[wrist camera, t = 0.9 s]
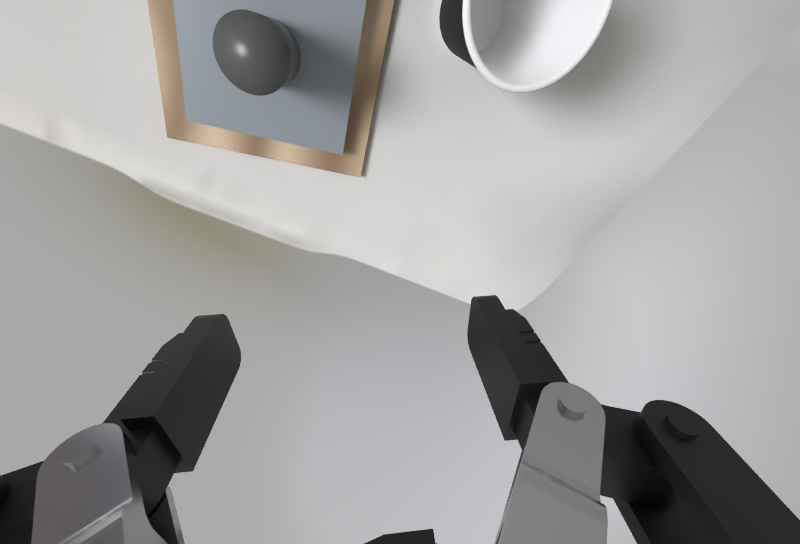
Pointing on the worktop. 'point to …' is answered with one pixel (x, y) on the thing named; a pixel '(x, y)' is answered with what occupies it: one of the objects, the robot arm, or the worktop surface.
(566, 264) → the worktop surface
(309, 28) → the lid
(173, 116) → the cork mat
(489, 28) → the dixie cup
